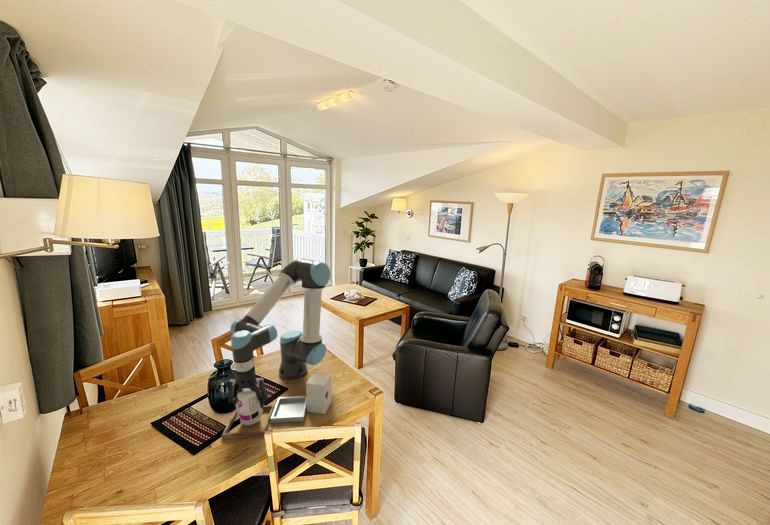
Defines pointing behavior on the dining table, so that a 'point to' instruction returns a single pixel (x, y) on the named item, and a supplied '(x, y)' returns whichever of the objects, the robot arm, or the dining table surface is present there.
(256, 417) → the supplement can
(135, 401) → the dining table surface
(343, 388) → the dining table surface
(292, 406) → the tray
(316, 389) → the supplement box
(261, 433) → the wooden frame
